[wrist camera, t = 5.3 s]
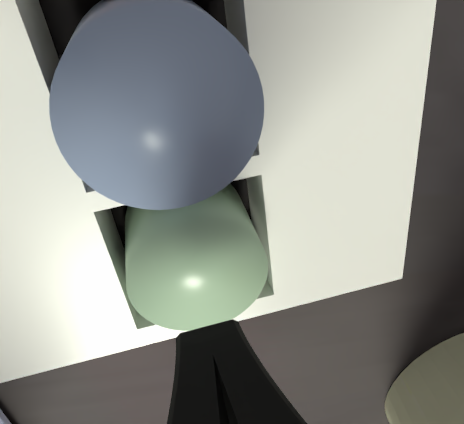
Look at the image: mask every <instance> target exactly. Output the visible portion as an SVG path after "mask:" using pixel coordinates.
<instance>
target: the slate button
mask: <svg viewBox="0 0 464 424" xmlns="http://www.w3.org/2000/svg"><path fill="white" fill-rule="evenodd" d="M49 115H50V121H51V127H52V131H53V134H54V137H55V141H56V143H57V145H58V147H59V150H60V152H61V154H62V155H63V157H64V159H65V160H66V162H67V163H68V165H69V166H70V167H71V169H72V170H73V171H74V172H75V173H76V175H77V176H78V177H79V178H80V179H82V180H83V181H84V182H85V183H86V184H87V185H88V186H90V187H91V188H92V189H94V190H95V191H96V192H98V193H100V194H101V195H103V196H105V197H107V198H109V199H111V200H113V201H116V202H118V203H120V204H124V205H127V206H131V207H135V208H141V209H148V210H168V209H176V208H181V207H186V206H189V205H193V204H196V203H198V202H200V201H203V200H205V199H207V198H209V197H211V196H213V195H215V194H216V193H218V192H219V191H221V190H222V189H223V188H225V187H226V186H227V185H228V184H230V183H231V182H232V181H233V180H234V179H235V178H236V177H237V176H238V175H239V174H240V172H241V171H242V170H243V169H244V167H245V166H246V165H247V163H248V162H249V160H250V159H251V157H252V155H253V153H254V151H255V149H256V147H257V144H258V141H259V139H260V135H261V131H262V127H263V120H264V96H263V89H262V85H261V81H260V78H259V74H258V72H257V70H256V67H255V65H254V63H253V61H252V59H251V57H250V56H249V54H248V53H247V51H246V49H245V48H244V47H243V46H242V44H241V43H240V42H239V41H238V40H237V38H236V37H235V36H234V35H232V34H231V33H230V32H229V31H228V30H227V29H226V28H225V27H224V26H222V25H221V24H220V23H219V22H218V21H217V20H215V19H214V18H213V17H212V16H211V15H210V14H208V13H207V12H206V11H205V10H204V9H202V8H201V7H200V6H199V5H197V4H196V3H195V2H193V1H192V0H101V1H99V2H98V3H97V4H95V5H94V6H93V7H92V8H91V9H90V10H89V11H88V12H87V13H86V14H85V15H84V16H83V18H82V19H81V21H80V22H79V24H78V25H77V27H76V29H75V31H74V33H73V35H72V37H71V39H70V41H69V43H68V45H67V47H66V49H65V51H64V53H63V55H62V57H61V59H60V61H59V64H58V66H57V68H56V70H55V73H54V77H53V80H52V84H51V89H50V97H49Z"/></svg>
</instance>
